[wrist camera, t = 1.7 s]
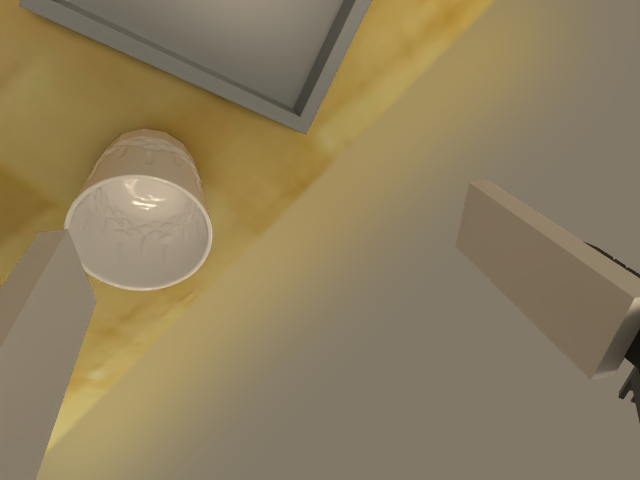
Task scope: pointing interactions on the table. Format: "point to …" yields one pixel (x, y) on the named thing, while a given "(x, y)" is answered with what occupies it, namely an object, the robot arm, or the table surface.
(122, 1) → the tray
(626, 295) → the robot arm
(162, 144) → the white cup
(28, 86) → the table surface
